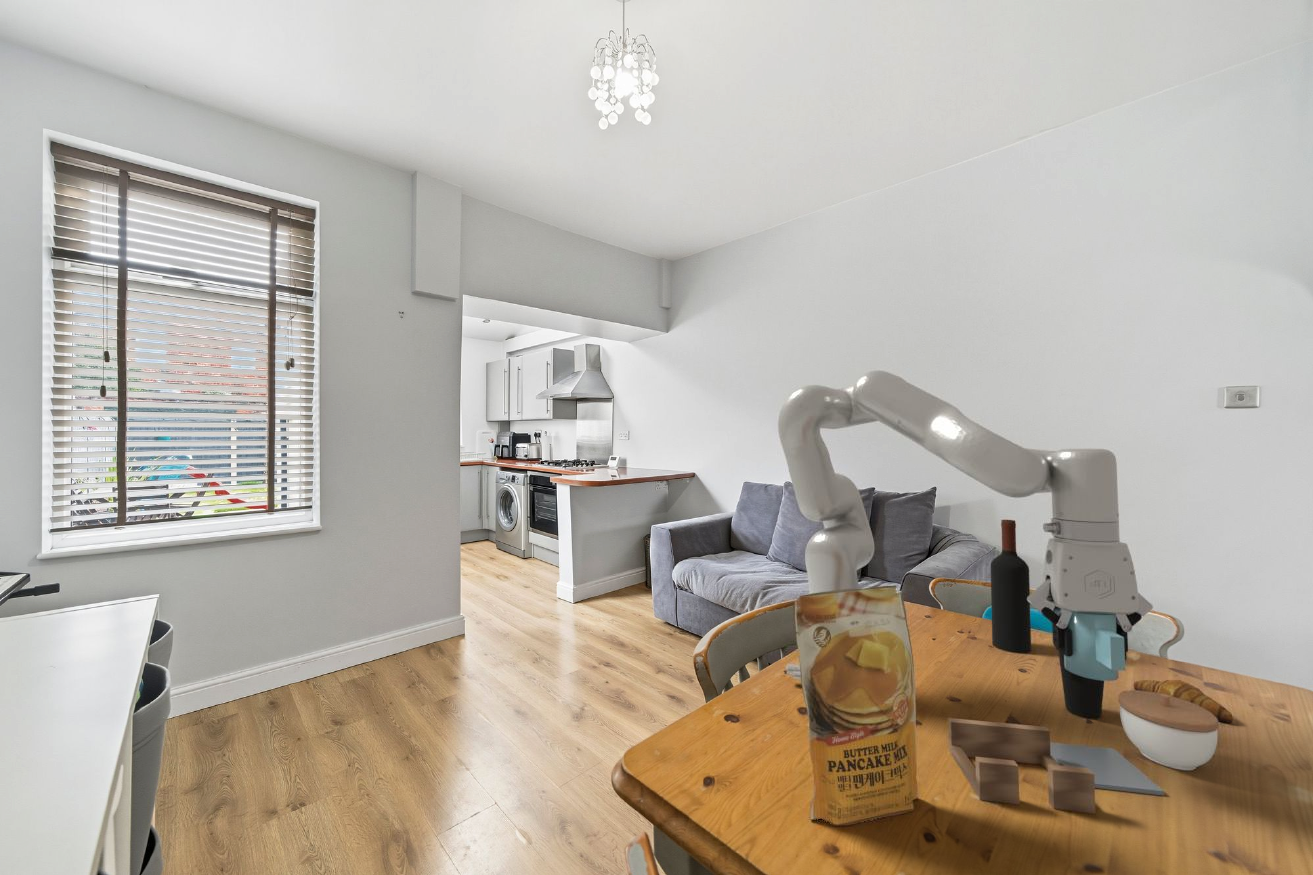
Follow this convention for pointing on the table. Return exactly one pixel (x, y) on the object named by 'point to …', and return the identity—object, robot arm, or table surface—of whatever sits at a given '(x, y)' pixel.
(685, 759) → the table surface
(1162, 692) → the croissant
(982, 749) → the cradle
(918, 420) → the robot arm
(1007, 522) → the wine bottle
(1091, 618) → the jug
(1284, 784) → the table surface
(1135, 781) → the coaster
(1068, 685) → the drinking cup
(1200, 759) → the lidded jar
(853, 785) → the pancake mix bag
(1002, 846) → the table surface
